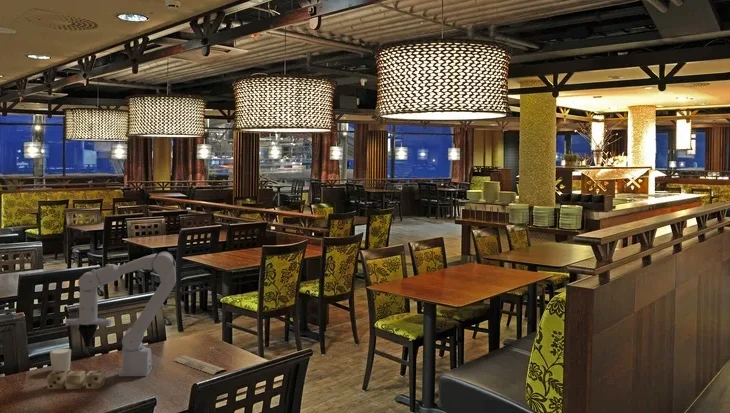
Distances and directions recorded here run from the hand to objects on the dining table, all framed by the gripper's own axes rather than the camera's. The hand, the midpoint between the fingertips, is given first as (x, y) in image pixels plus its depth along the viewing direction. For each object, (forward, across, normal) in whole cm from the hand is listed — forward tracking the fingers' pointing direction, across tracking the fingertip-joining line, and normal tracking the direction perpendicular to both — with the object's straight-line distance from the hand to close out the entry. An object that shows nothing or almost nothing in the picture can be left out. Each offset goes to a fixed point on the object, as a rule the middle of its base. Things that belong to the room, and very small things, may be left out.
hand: (88, 346), depth 214 cm
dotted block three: (+11, -6, -10) cm, 16 cm away
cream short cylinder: (+11, -11, +6) cm, 17 cm away
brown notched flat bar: (+10, +36, +8) cm, 38 cm away
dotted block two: (+10, +6, -10) cm, 15 cm away
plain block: (+11, 0, -10) cm, 15 cm away
